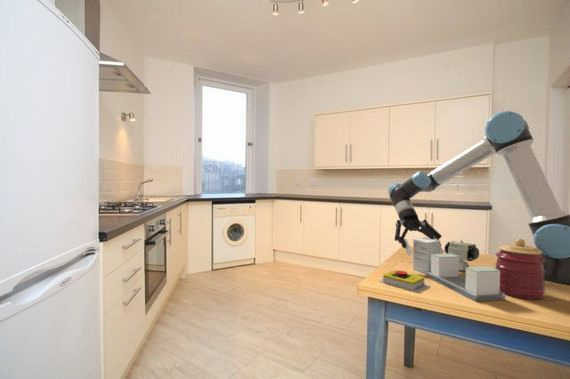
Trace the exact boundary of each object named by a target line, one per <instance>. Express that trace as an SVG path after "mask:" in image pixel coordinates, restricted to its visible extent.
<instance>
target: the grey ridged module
mask: <svg viewBox="0 0 570 379" xmlns="http://www.w3.org/2000/svg"><path fill="white" fill-rule="evenodd" d="M412 243H413V244H412V245H413V246H412V247H413V250H412V270H414V271H417V272H419V273H423V274H426V275H427V272H431V254H440V243H441V240H440V239H439V240H434V239H430V238H429V237H422V238H414V239H413V241H412Z"/></svg>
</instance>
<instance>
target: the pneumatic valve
mask: <svg viewBox="0 0 570 379" xmlns="http://www.w3.org/2000/svg"><path fill="white" fill-rule="evenodd" d="M444 252H445V254H453V255H456V256H459V271H462V272H464V271H465V272H466V267H470V264H469V262H473V261H476V260H477V259H479V256H480V249H479V248H477V244H473V243H469V242H464V240H461V239H460V241H456V240H453V241H448V242H446V243H445V246H444Z"/></svg>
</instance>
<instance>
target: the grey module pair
mask: <svg viewBox="0 0 570 379" xmlns="http://www.w3.org/2000/svg"><path fill="white" fill-rule="evenodd" d="M431 273H433V274H435V275H437V276H439V277H455V276H459V274H460V270H459V256H456V255H453V254H447V253H442V254H431ZM465 277H466V280H465V289H466V290H468V291H470V292H472V293H475V294H477V295H490V294H499V291H500V270H497V269H496V268H494V267H492V266H491V267H490V266H469V267H466V270H465Z"/></svg>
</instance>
